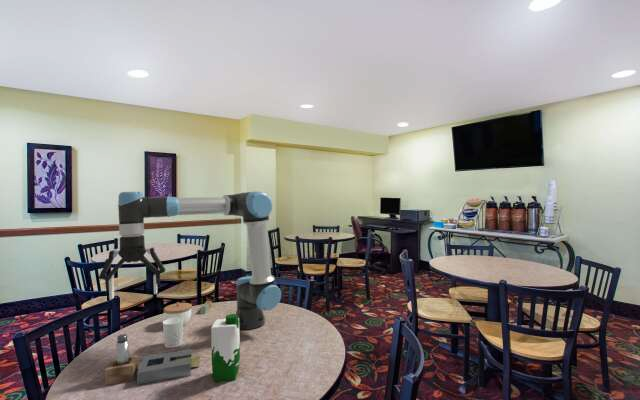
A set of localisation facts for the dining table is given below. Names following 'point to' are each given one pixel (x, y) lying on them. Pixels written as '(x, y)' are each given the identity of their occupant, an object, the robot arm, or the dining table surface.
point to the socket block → (164, 367)
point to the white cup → (173, 332)
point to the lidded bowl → (178, 311)
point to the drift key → (194, 360)
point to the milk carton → (225, 348)
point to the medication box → (205, 307)
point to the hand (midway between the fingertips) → (134, 295)
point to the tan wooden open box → (121, 371)
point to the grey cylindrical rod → (122, 350)
